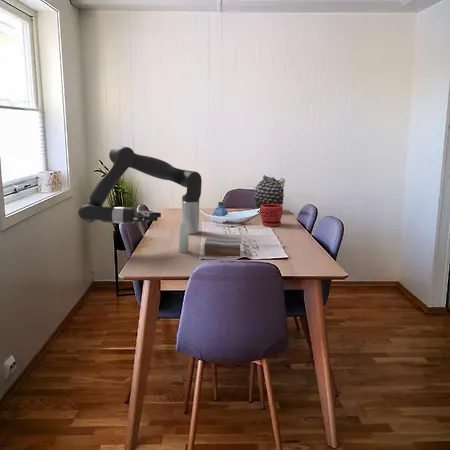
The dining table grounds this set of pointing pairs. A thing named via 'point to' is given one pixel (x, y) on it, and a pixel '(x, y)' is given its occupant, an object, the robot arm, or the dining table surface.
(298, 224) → the dining table surface
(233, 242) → the stand
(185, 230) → the pale green cylinder
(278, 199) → the round potted cactus
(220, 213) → the perfume bottle
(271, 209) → the plant pot
